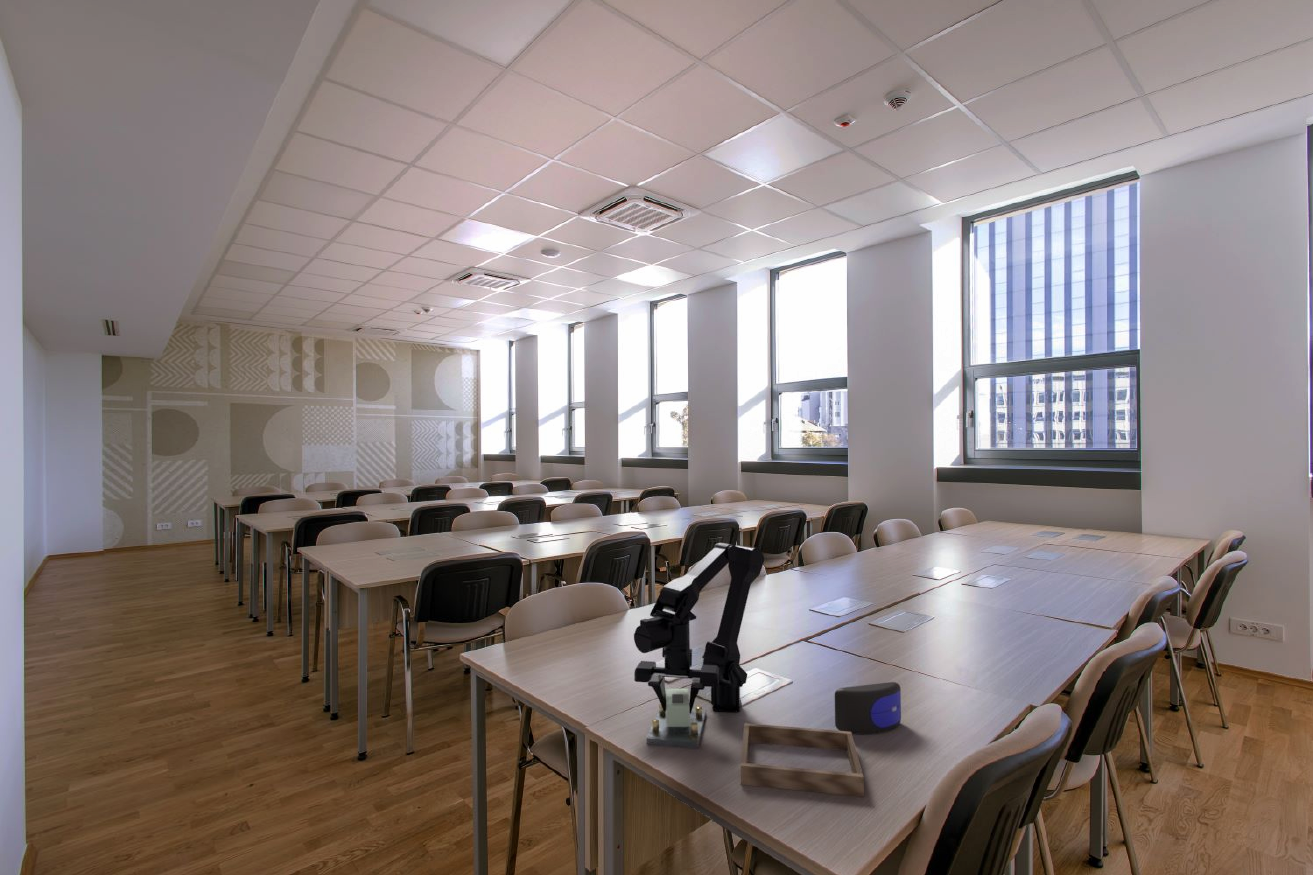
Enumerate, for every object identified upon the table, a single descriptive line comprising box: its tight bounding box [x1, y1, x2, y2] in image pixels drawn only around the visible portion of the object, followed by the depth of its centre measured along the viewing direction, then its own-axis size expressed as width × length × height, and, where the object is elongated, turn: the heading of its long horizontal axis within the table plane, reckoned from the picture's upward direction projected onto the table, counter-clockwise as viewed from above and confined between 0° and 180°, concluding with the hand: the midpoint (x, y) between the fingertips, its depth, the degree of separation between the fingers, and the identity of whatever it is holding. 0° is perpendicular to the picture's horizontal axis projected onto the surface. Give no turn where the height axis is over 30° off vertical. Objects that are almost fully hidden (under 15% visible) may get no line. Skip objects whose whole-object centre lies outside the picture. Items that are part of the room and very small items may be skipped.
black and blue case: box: [834, 681, 902, 735], centre depth 131 cm, size 16×5×9 cm, turn 103°
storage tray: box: [740, 722, 865, 797], centre depth 116 cm, size 22×17×4 cm
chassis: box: [645, 703, 707, 749], centre depth 132 cm, size 11×16×3 cm
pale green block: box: [665, 688, 690, 727], centre depth 132 cm, size 5×9×5 cm, turn 179°
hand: (677, 711), depth 132 cm, fingers closed on pale green block, 5 cm apart
